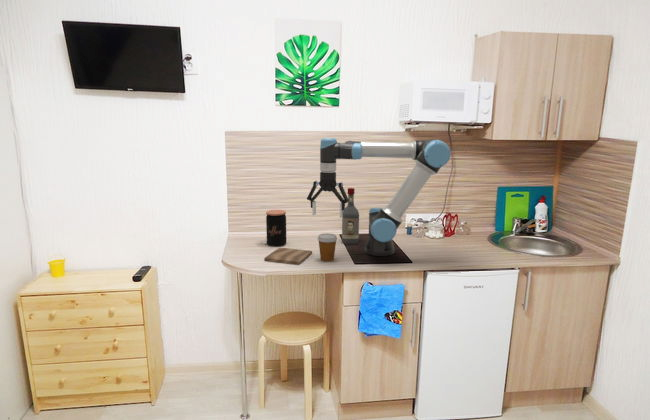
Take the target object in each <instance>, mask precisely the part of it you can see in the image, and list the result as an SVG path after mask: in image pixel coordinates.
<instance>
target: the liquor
mask: <svg viewBox="0 0 650 420" xmlns="http://www.w3.org/2000/svg"><path fill="white" fill-rule="evenodd" d="M347 197H348V199H349V202H347V206H345V210H343V217H341V218H342V219H341V221H342V222H341V242H342V243H343V244H347V245H349V244H350V245H356V244H358V243H359V239H360V212H359V210H358V209H357V207H356V206H355V204H354V203H355V202H354V200H355V198H354V197H355V188H353V187H348V188H347Z"/></svg>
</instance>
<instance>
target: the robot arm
mask: <svg viewBox="0 0 650 420" xmlns="http://www.w3.org/2000/svg"><path fill="white" fill-rule="evenodd" d="M319 147H320V148H319V150H320V151H319V154H320V155H319V157H320V158H319V160H320V161H319V162H320V165H319V170H320V172H319V181H317V180H315V181H313V184H312V187H311V189H310V191H309V194H308V195H307V197H306V200H307V201H309V202H310V208H311V209H312V213H311V214H312V216H315V215H317V201H316V199H317V198H318V196H320V195H321V193H322V192H328V193H330V192H332V193H333V194H334V195H335V197H336V198H337V199H338V201H339V202H340V203H339V219H340V218H342V217H343V210H345V208H346V204H348V202H349V199H348V194H347V193H346V190H345V188H344V183H343V182H342V181H341V182H337V172H336V171H337V160H354V161H355V160H361V159H362V158H394V159H395V158H396V159H398V158H399V159H400V158H401V159H402V158H403V159H412V160H413V161H415V165H414V167H413V168H412V169H411V171H410V173H409V174H408V176H406V178H405V179H404V181H403V183H402V184H401V185H400V187H399V189H398V190H397V191H396V192H395V194H394V195H393V196H392V198H391V200H390V201H389V203H388V204H387V205H386V206H384V207H372V208H371V207H370V209H369V212H368V215H369V216H368V238H367V240H366V243H365V245H364V252H365V254H368V255H370V256H375V257H387V256H388V257H389V256H392V255H393V254H395V246H394V242H393V239H394V238H395V237H396V235H397V230H398V228H399V227H400V226H401V224H402V222H403V220H402V217H403V216H404V215H405V213H406V211H407V210H408V209H409V207H410V206H411V204H412V203H413V201H414V200H415V199H416V198H417V196H418V195H419V193H420V191H421V190H422V189H423V187H425V185H426V184H427V182H428V180H430V178H431V176H433V175H437V174H438V172H439V171H440V170H441V168H442V167H444V166H446V164H447V163H448V162H449V161H450V159H451V153H452V152H451V149H450V146H449V145H448V144H447V143H446V142H445V141H442V140H441V139H440V140H439V139H435V138H430V139H419V140H416V139H415V140H412V142H408V141H407V142H406V141H403V142H402V141H401V142H400V141H353V140H347V141H345V142H338V141H337V138H335V137H333V138H332V137H322V138H321V140H320V146H319ZM318 186H320V188H319V189H318V190H317V192H316V193H315V191H316V189H317V187H318ZM337 188H338V189H339V191H340V192H339V191H338V189H337ZM314 193H315V194H314ZM340 193H341V194H340Z"/></svg>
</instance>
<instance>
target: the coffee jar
mask: <svg viewBox="0 0 650 420" xmlns="http://www.w3.org/2000/svg"><path fill="white" fill-rule="evenodd" d="M265 214H266V216H265V221H266V222H265V223H266V230H265V231H266V243H267V244H268V246H269V247H283V246H285V245H286V244H287V215H286V214H287V211H286V210H283V209H269V210H267V211H266V212H265Z"/></svg>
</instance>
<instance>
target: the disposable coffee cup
mask: <svg viewBox="0 0 650 420" xmlns="http://www.w3.org/2000/svg"><path fill="white" fill-rule="evenodd" d="M337 240H338V236H337V235H336V234H335V233H330V232H329V233H326V232H325V233H321V234H318V237H317V241H318V247H319V253H320V254H319V256H320V260H321V261H322V262H332V261H334V259H335V253H336V244H337Z"/></svg>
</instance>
